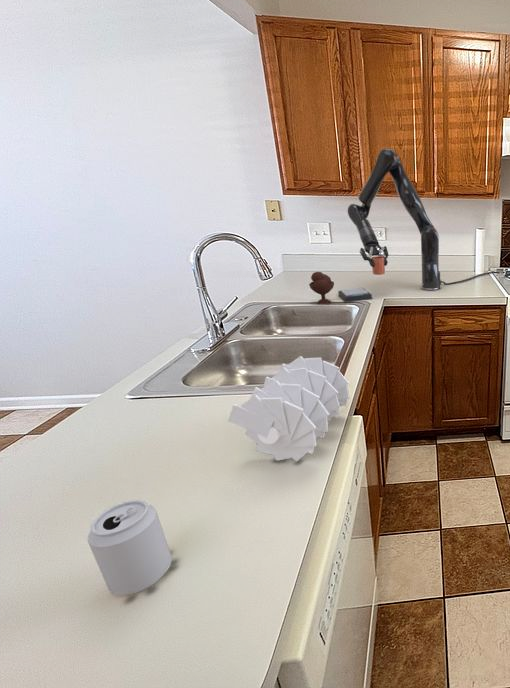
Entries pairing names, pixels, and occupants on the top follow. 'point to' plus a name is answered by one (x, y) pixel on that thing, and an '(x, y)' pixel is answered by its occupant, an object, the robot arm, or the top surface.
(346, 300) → the scale
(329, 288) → the ice cream bowl
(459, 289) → the top surface
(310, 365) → the spiral staircase
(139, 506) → the can
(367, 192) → the robot arm
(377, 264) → the cup
